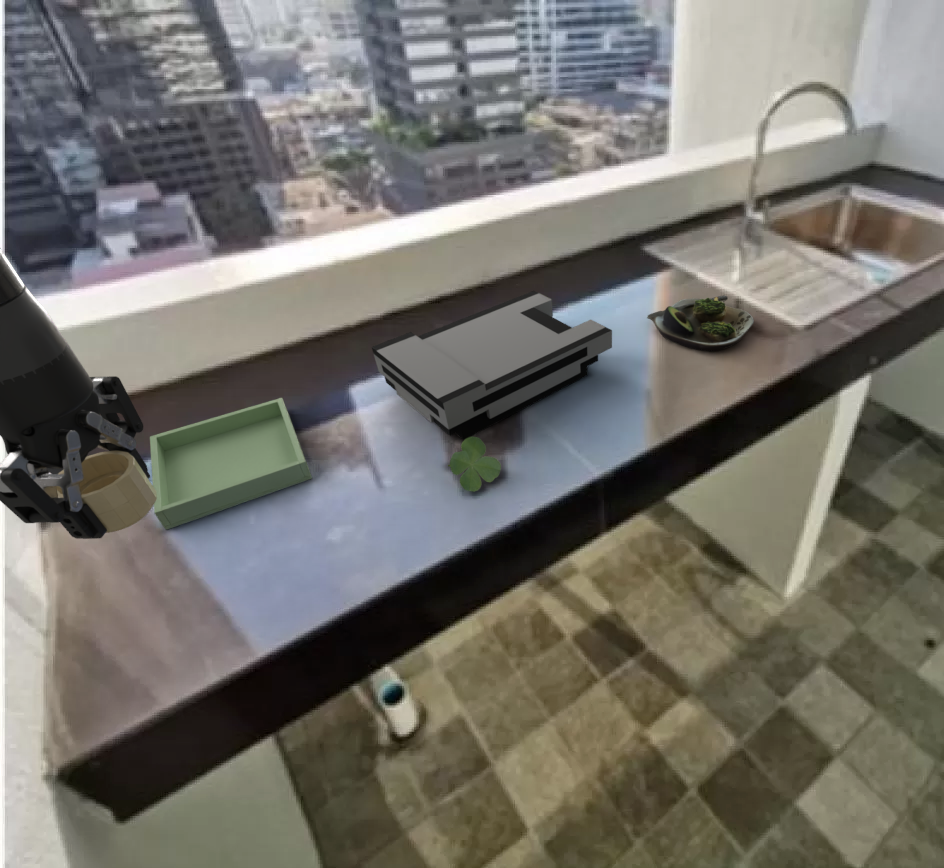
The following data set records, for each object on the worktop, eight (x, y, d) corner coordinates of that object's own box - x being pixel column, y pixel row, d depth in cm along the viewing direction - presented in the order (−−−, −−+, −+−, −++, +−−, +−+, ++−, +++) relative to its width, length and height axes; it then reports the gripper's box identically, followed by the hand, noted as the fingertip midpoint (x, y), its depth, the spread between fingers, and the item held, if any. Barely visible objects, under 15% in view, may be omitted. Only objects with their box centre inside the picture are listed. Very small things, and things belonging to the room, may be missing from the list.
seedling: (472, 497, 86) (498, 495, 82) (421, 488, 81) (446, 485, 76) (478, 448, 88) (505, 444, 83) (429, 436, 83) (454, 431, 78)
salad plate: (689, 293, 126) (691, 272, 123) (769, 317, 117) (773, 295, 114) (637, 330, 114) (638, 308, 111) (722, 360, 105) (725, 337, 102)
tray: (165, 530, 75) (154, 513, 73) (159, 453, 87) (149, 436, 85) (312, 478, 83) (305, 461, 81) (288, 413, 94) (281, 397, 92)
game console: (611, 366, 104) (612, 323, 99) (453, 449, 87) (443, 403, 82) (536, 324, 116) (533, 284, 111) (383, 390, 99) (371, 347, 94)
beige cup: (80, 548, 54) (46, 508, 51) (83, 504, 58) (53, 466, 55) (161, 520, 56) (134, 481, 53) (158, 480, 60) (133, 442, 57)
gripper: (22, 311, 52) (122, 457, 62) (-131, 412, 40) (22, 570, 51) (111, 309, 52) (195, 455, 62) (-18, 409, 41) (112, 567, 51)
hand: (117, 506), depth 57 cm, fingers closed on beige cup, 6 cm apart
